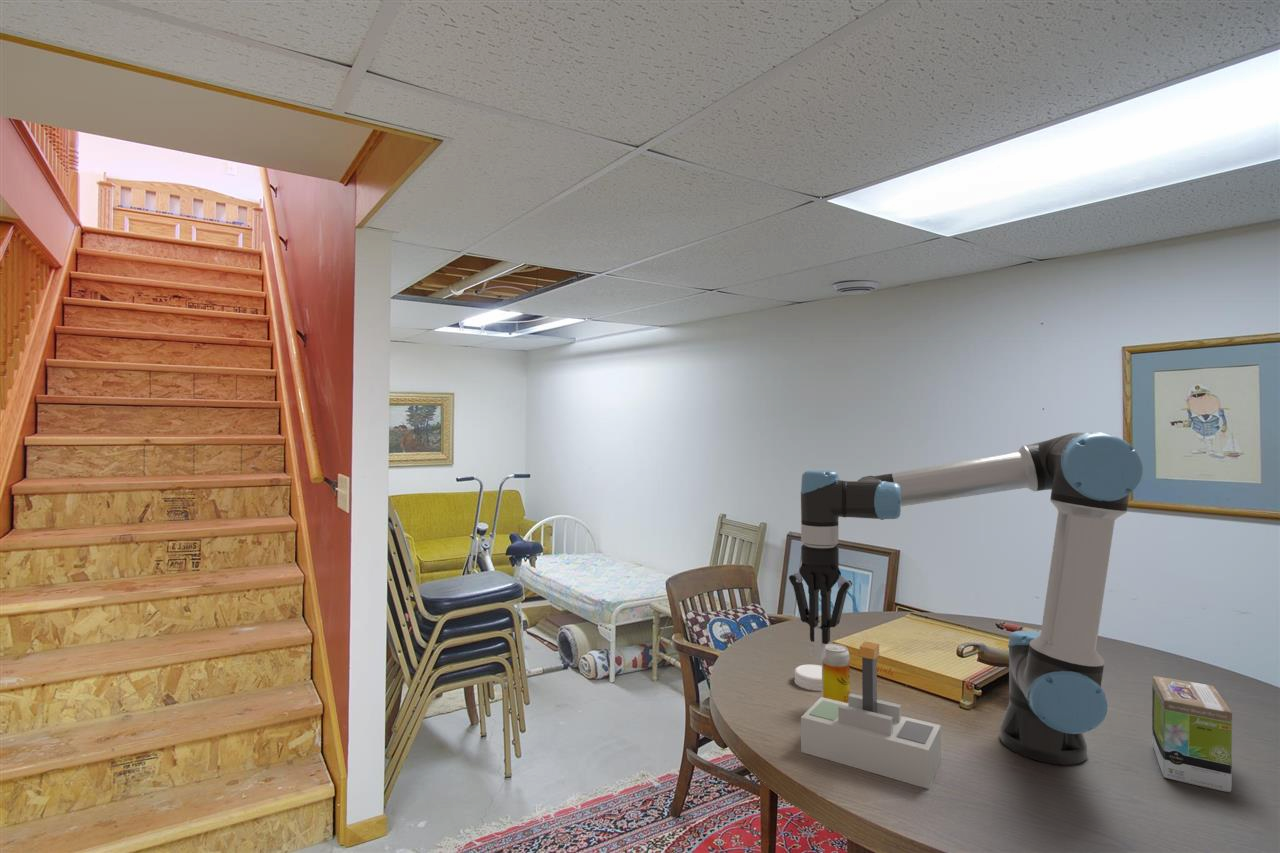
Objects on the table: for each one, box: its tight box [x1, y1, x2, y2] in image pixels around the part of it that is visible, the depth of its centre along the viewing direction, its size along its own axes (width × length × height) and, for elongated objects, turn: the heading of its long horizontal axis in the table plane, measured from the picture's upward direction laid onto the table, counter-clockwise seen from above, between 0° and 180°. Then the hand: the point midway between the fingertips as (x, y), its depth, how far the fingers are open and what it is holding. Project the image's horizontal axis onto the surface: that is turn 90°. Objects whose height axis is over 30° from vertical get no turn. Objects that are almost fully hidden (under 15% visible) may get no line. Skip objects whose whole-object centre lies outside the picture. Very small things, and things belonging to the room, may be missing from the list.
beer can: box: [821, 643, 851, 703], centre depth 148 cm, size 6×6×15 cm
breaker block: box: [800, 693, 942, 790], centre depth 128 cm, size 24×12×10 cm, turn 55°
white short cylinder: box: [794, 664, 822, 692], centre depth 165 cm, size 10×10×4 cm
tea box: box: [1151, 675, 1233, 793], centre depth 124 cm, size 15×10×15 cm
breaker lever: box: [859, 641, 880, 713], centre depth 128 cm, size 3×4×14 cm
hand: (820, 657), depth 134 cm, fingers closed
